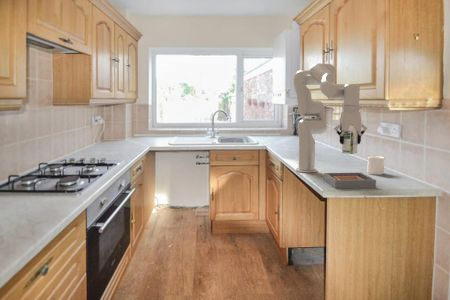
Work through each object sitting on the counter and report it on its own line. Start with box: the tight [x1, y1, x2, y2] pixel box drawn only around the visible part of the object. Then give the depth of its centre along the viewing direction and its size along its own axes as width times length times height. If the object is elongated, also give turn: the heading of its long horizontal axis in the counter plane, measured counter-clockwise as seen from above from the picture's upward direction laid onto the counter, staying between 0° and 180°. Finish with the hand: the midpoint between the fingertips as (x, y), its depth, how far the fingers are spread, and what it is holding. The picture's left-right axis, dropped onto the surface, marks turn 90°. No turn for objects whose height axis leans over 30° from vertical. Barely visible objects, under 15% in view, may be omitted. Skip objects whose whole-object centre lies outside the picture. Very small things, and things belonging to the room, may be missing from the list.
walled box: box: [323, 172, 377, 189], centre depth 210 cm, size 20×20×4 cm
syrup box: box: [341, 125, 359, 155], centre depth 207 cm, size 6×6×14 cm
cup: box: [366, 155, 385, 176], centre depth 238 cm, size 10×10×10 cm
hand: (350, 143), depth 208 cm, fingers closed on syrup box, 7 cm apart
